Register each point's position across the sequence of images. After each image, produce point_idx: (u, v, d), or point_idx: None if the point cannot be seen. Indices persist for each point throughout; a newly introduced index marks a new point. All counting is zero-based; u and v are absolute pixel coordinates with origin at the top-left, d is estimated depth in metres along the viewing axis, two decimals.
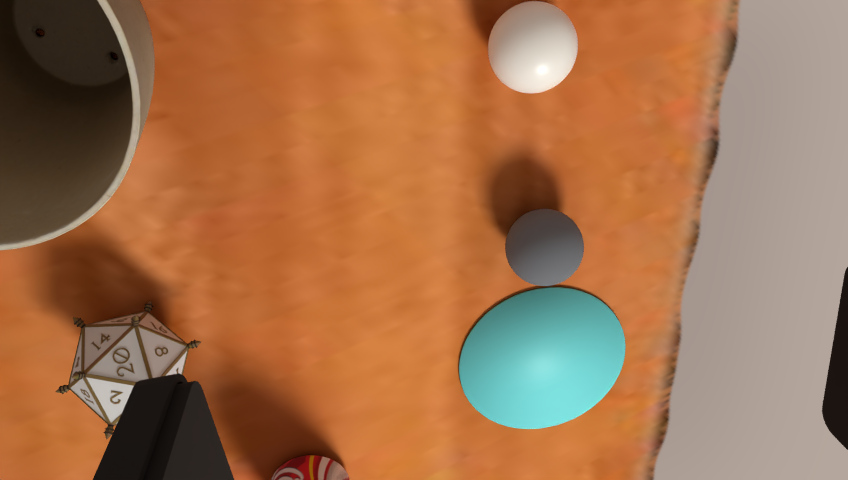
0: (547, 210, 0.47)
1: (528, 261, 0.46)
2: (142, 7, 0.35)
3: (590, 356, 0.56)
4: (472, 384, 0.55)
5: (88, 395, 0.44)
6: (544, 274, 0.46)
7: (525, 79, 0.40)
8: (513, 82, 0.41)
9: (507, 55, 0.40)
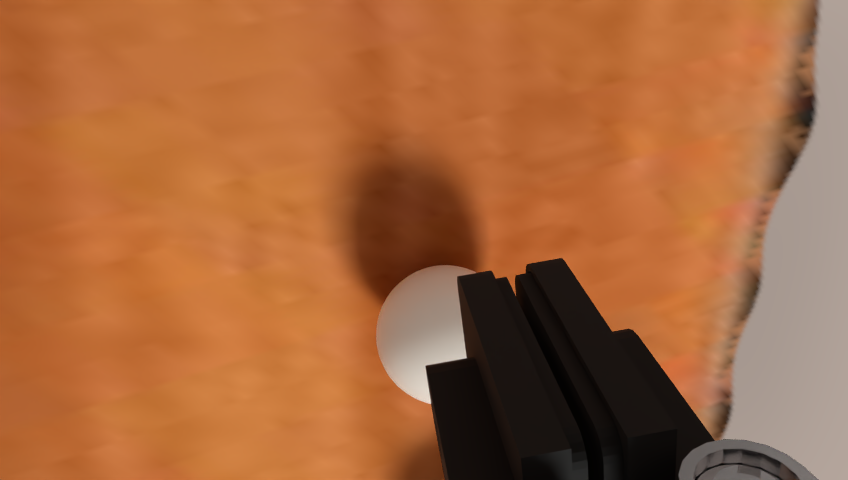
0: None
1: None
2: None
3: None
4: None
5: None
6: None
7: (430, 400, 0.25)
8: (413, 397, 0.26)
9: (399, 368, 0.25)
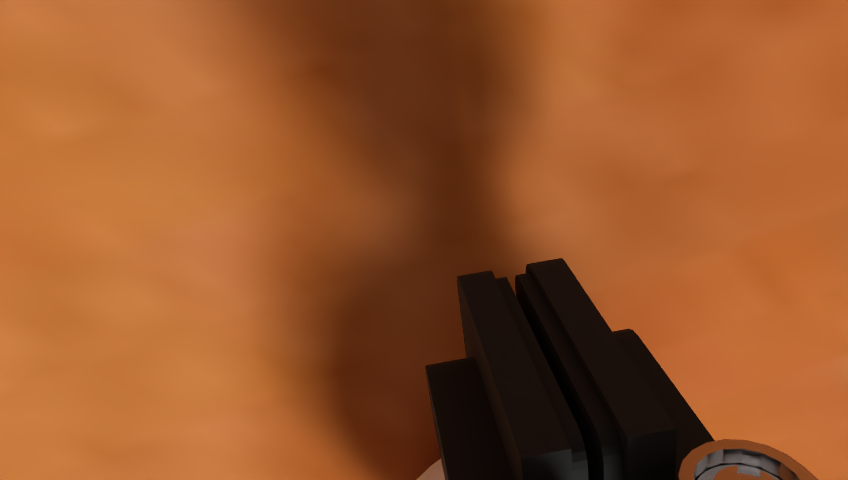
0: None
1: None
2: None
3: None
4: None
5: None
6: None
7: None
8: None
9: None
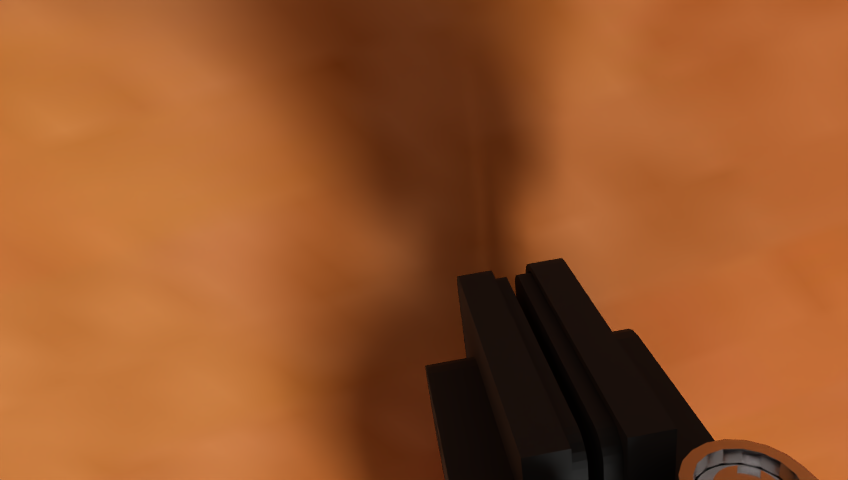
0: None
1: None
2: None
3: None
4: None
5: None
6: None
7: None
8: None
9: None
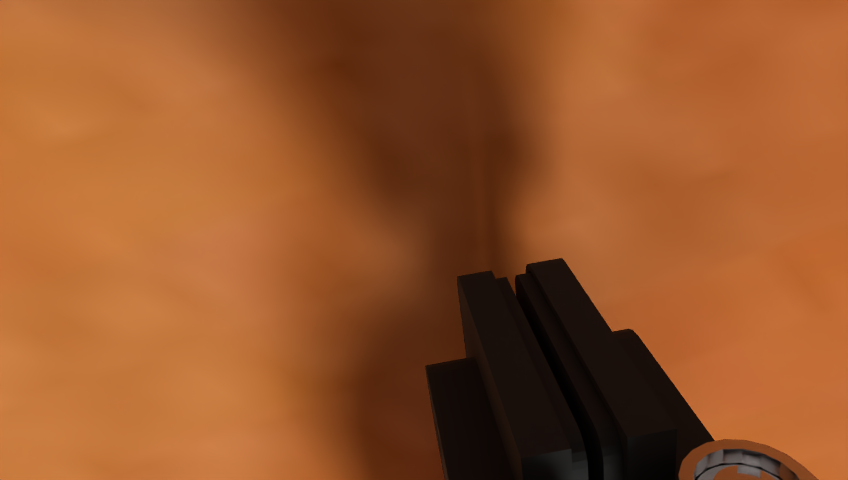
0: None
1: None
2: None
3: None
4: None
5: None
6: None
7: None
8: None
9: None
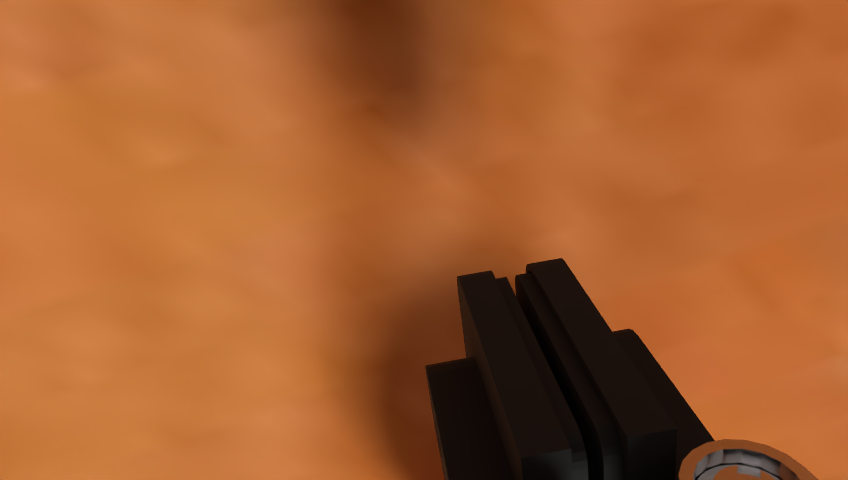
0: None
1: None
2: None
3: None
4: None
5: None
6: None
7: None
8: None
9: None
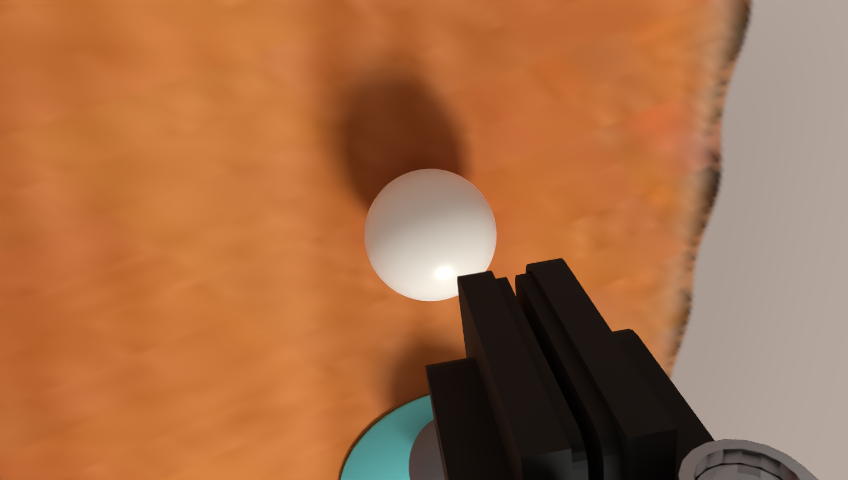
0: None
1: None
2: None
3: None
4: None
5: None
6: None
7: None
8: None
9: None
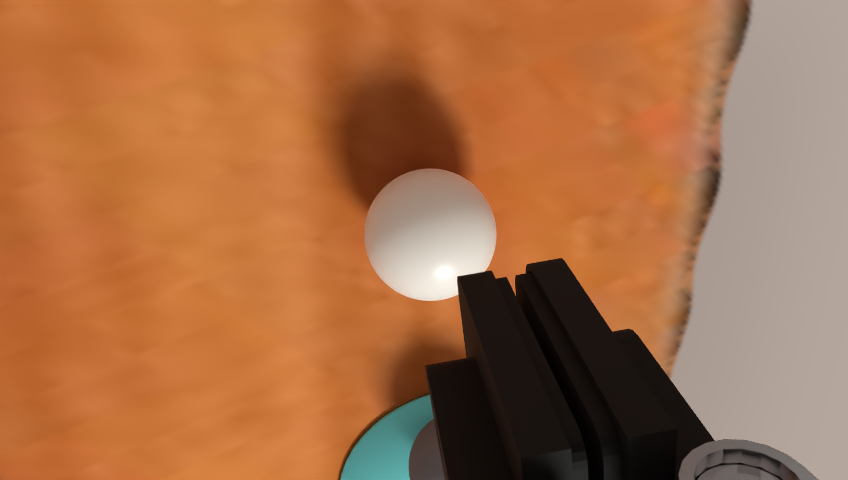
0: None
1: None
2: None
3: None
4: None
5: None
6: None
7: None
8: None
9: None
